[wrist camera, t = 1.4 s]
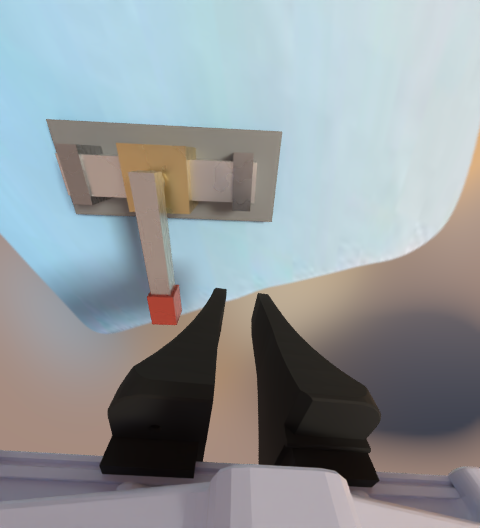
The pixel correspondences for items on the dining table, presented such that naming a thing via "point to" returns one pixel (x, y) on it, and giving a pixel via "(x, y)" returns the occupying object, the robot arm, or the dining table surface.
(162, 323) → the valve lever
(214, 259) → the dining table surface
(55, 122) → the board
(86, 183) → the pipe and valve
